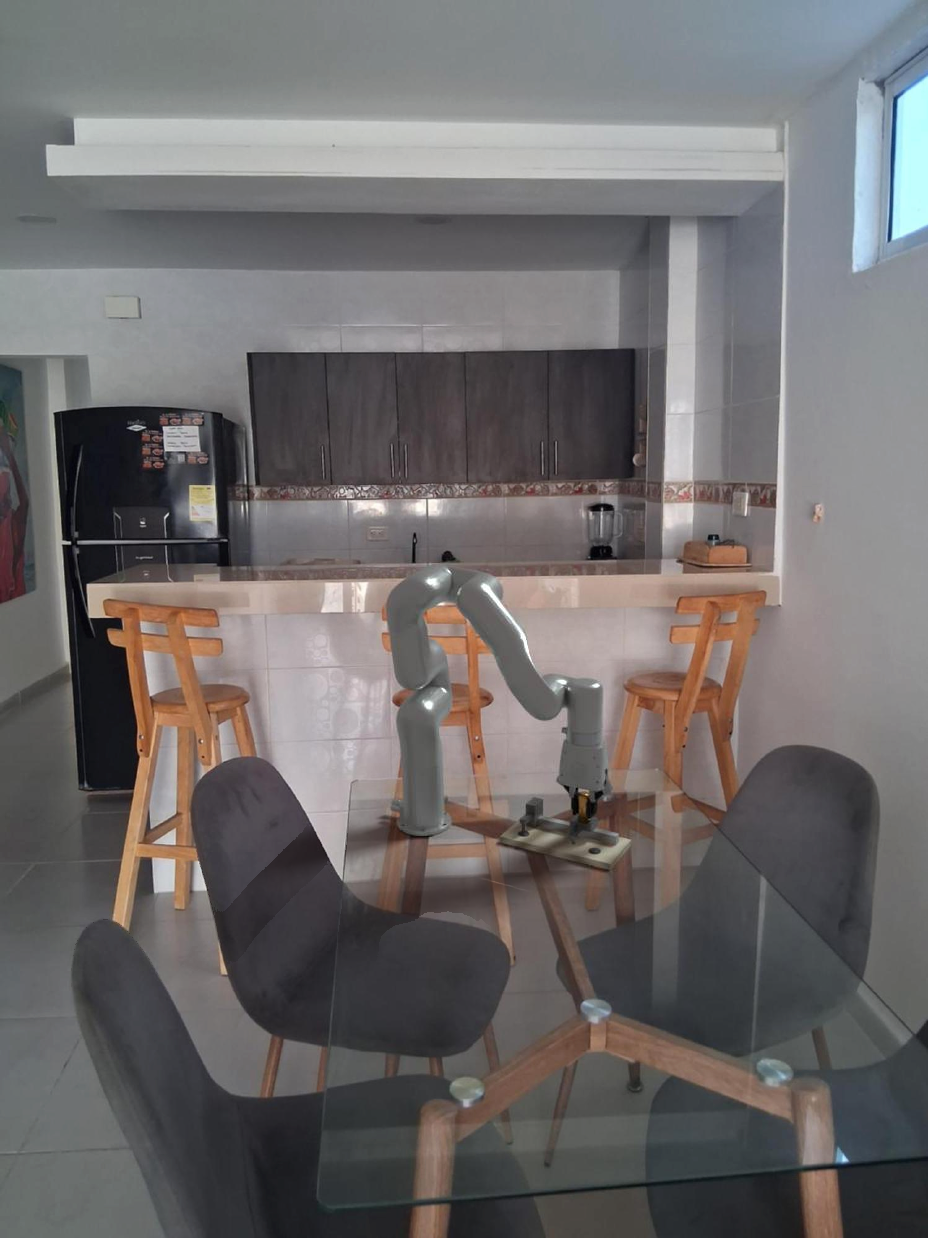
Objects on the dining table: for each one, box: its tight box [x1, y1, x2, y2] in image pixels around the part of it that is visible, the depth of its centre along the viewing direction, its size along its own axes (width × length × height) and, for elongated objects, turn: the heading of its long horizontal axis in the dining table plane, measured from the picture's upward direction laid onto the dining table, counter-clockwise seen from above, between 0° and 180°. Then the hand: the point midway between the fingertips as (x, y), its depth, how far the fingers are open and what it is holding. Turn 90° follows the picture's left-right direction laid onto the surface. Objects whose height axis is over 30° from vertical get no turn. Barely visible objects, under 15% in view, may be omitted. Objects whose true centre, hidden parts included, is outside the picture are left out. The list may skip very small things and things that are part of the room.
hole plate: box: [499, 796, 632, 871], centre depth 208 cm, size 26×12×7 cm, turn 60°
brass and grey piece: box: [569, 790, 599, 844], centre depth 206 cm, size 5×8×9 cm, turn 150°
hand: (584, 814), depth 208 cm, fingers closed on brass and grey piece, 2 cm apart
